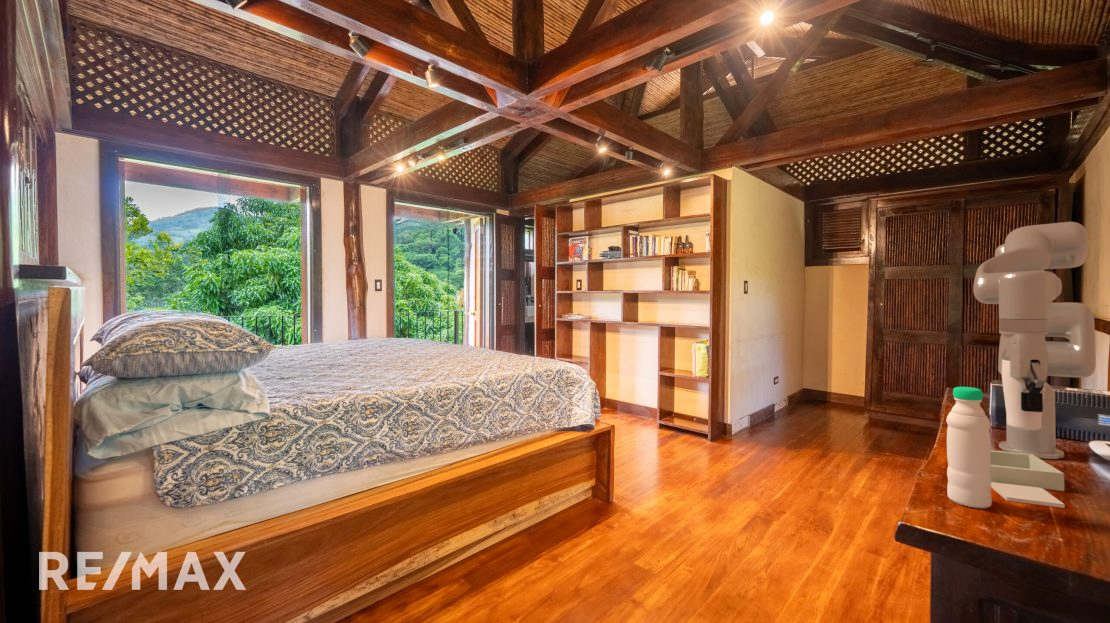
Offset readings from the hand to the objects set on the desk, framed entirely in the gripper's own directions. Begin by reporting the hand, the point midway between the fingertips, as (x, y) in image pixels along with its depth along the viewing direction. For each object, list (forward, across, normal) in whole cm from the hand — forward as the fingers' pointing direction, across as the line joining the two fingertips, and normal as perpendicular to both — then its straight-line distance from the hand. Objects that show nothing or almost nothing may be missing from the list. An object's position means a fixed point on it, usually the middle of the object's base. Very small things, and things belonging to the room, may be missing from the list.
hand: (1023, 407), depth 99 cm
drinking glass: (+5, 0, 0) cm, 5 cm away
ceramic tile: (+20, 0, 0) cm, 20 cm away
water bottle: (+20, +8, -12) cm, 25 cm away
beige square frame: (+20, -14, +2) cm, 24 cm away
